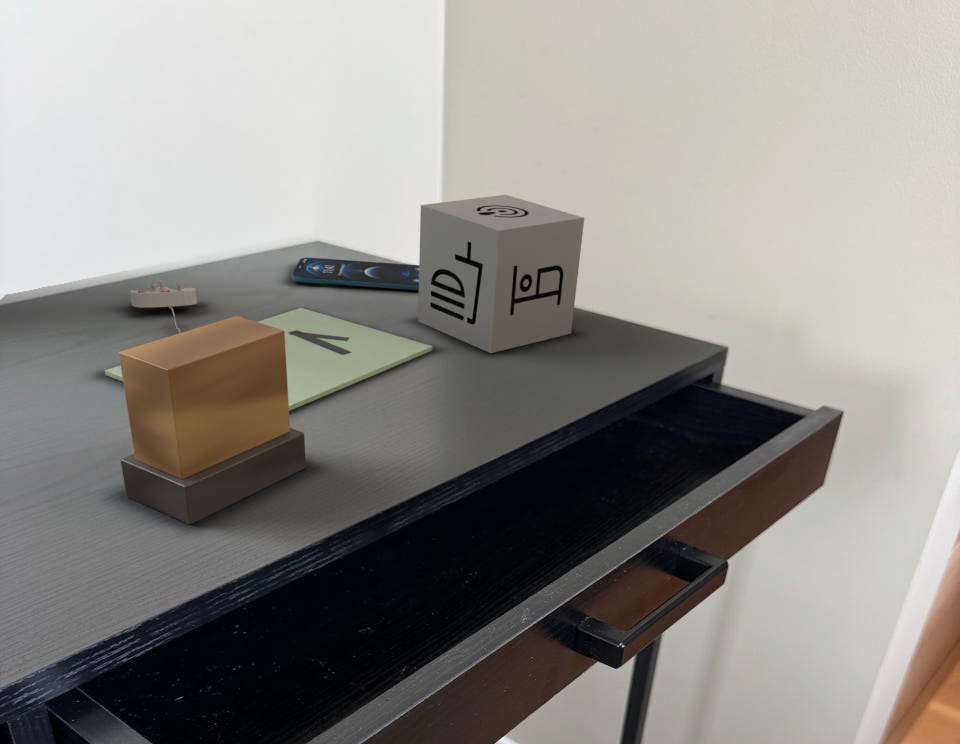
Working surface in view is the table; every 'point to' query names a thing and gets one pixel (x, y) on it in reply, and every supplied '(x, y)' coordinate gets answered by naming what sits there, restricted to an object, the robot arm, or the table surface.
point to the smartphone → (357, 273)
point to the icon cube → (498, 270)
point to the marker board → (330, 353)
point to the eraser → (208, 418)
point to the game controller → (164, 297)
